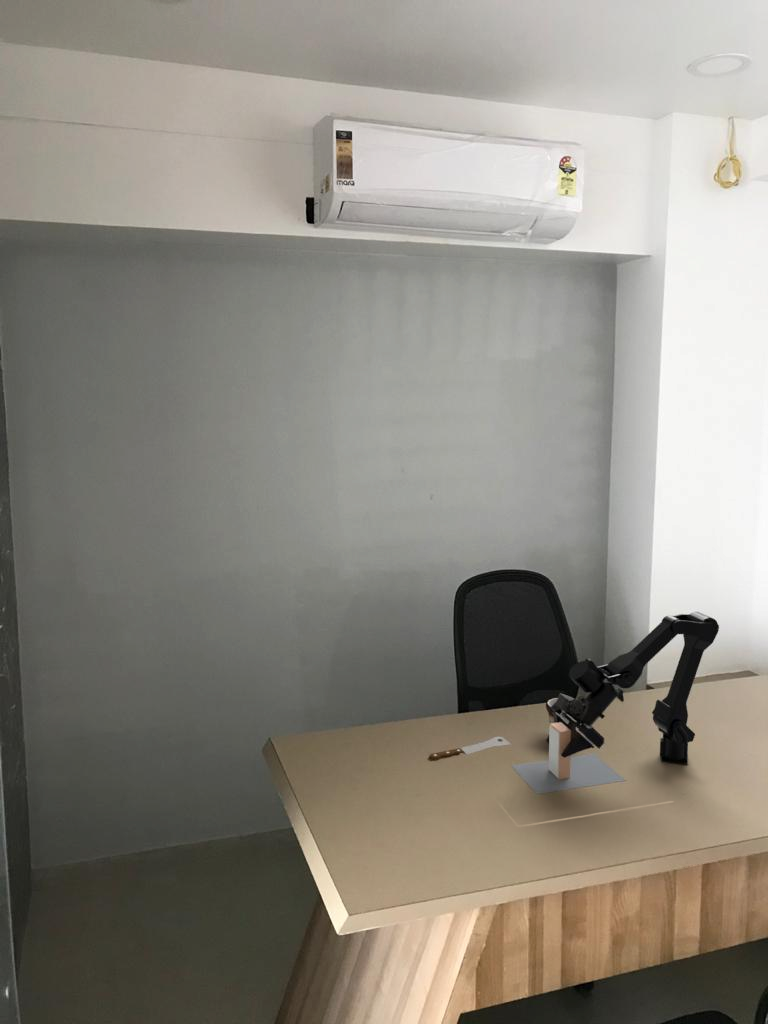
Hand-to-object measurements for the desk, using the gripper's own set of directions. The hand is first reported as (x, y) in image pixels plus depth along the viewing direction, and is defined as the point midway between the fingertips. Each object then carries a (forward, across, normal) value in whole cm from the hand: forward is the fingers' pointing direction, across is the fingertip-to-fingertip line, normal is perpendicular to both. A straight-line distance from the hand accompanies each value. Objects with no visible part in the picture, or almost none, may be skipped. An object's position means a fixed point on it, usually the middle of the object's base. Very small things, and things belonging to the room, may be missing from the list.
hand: (554, 749), depth 218 cm
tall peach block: (+4, 0, +6) cm, 7 cm away
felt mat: (+2, 0, +8) cm, 8 cm away
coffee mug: (-4, -22, +14) cm, 26 cm away
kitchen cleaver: (+16, -19, -5) cm, 25 cm away
